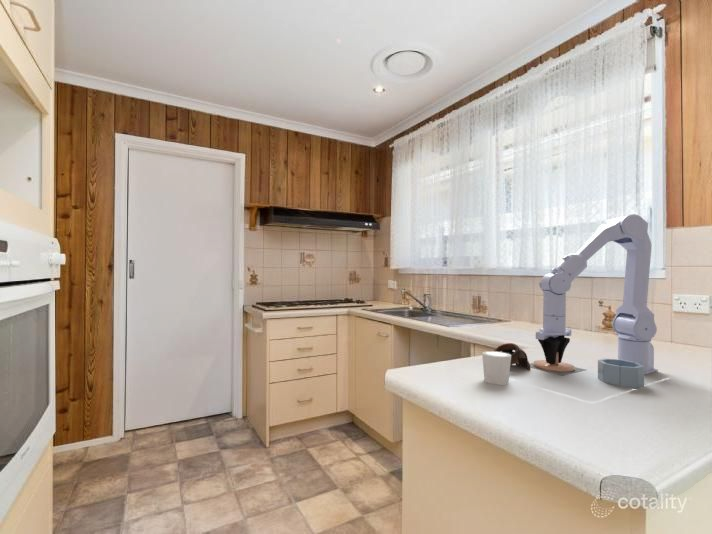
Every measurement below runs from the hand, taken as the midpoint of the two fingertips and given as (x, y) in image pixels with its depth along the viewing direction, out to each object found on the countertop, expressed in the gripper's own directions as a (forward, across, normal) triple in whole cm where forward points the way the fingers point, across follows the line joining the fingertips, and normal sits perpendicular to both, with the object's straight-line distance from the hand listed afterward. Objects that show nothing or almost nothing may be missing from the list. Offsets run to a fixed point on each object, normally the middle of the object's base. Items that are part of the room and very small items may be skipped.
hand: (553, 362), depth 106 cm
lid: (+1, 0, 0) cm, 1 cm away
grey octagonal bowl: (+2, -2, +16) cm, 16 cm away
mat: (+2, 0, 0) cm, 2 cm away
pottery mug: (+2, +11, -6) cm, 12 cm away
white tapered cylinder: (+2, +25, 0) cm, 25 cm away
